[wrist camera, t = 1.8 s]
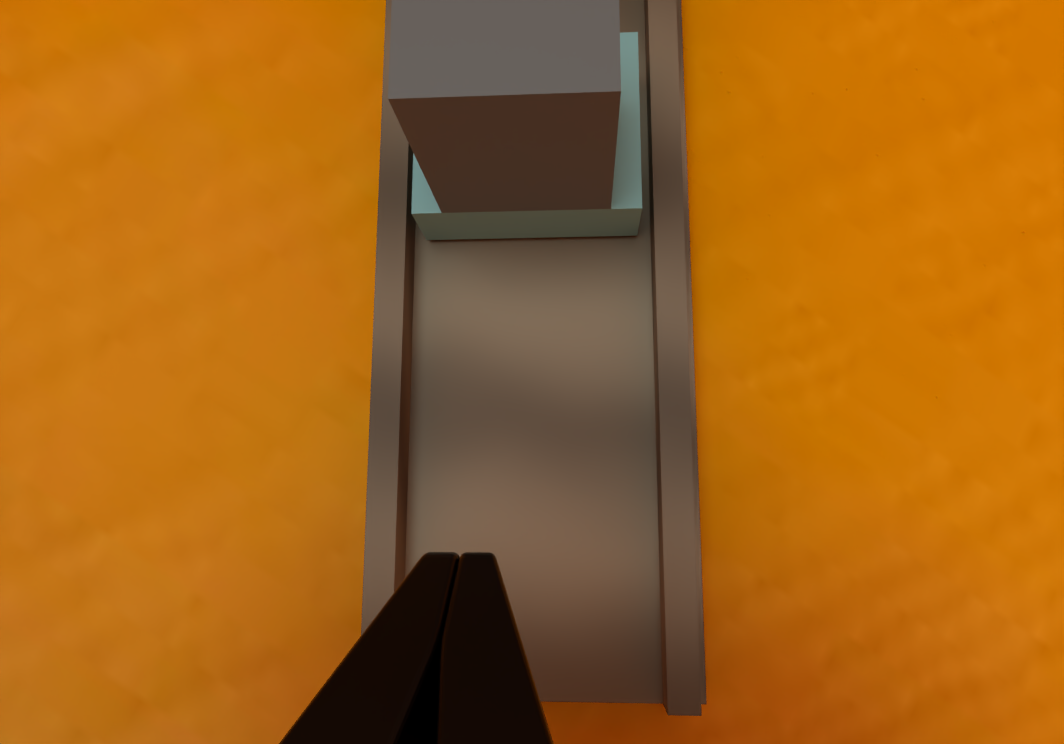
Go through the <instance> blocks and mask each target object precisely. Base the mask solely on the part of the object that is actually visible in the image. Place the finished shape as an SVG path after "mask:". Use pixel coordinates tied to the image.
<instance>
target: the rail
mask: <svg viewBox="0 0 1064 744" xmlns="http://www.w3.org/2000/svg"><path fill="white" fill-rule="evenodd" d="M391 6H392V0H386V19H385V44H384V70H383V95H382V120H381V146H380V171H379V197H378V222H377V247H376V273H375V298H374V323H373V349H372V374H371V400H370V425H369V450H368V476H367V501H366V527H365V552H364V577H363V603H362V628H361V635H362V634H363V633H364V632H365V630H366V629H367V628H368V626H369V625H370V624H371V622H372V621H373V620H374V618H375V617H376V616H377V614H378V613H379V612H380V611H381V609H382V608H383V607H384V605H385V604H386V603H387V601H388V600H389V599H390V597H391V596H392V595H393V593H394V592H395V591H396V589H397V588H398V587H399V586H400V584H401V583H402V582H403V580H404V579H405V578H406V576H407V575H408V574H409V572H410V571H411V570H412V568H413V567H414V566H415V564H416V563H417V562H418V561H419V559H420V558H421V557H422V556H423V555H424V554H426V553H428V552H455V553H457V554H459V556H461V554H463V553H465V552H491V553H493V554H494V555H495V557H496V559H497V562H498V565H499V569H500V572H501V575H502V578H503V582H504V585H505V588H506V591H507V595H508V598H509V601H510V604H511V608H512V611H513V614H514V617H515V621H516V624H517V627H518V630H519V634H520V637H521V640H522V643H523V647H524V650H525V653H526V656H527V660H528V663H529V666H530V669H531V673H532V676H533V679H534V682H535V685H536V689H537V692H538V695H539V698H540V701H547V702H605V703H663V705H664V707H665V709H666V712H667V714H668V715H688V716H701V704H706V677H705V650H704V622H703V595H702V567H701V540H700V512H699V485H698V457H697V430H696V402H695V375H694V347H693V319H692V292H691V264H690V237H689V209H688V182H687V154H686V127H685V99H684V72H683V44H682V17H681V0H619V16H620V33H624V32H638V59H639V98H640V138H641V178H642V212H641V218H640V223H639V228H638V234H637V236H594V237H548V238H501V239H454V240H426V238H425V237H424V235H423V233H422V231H421V230H420V228H419V226H418V224H417V223H416V221H415V219H414V217H413V216H412V214H411V212H412V180H413V151H412V149H411V147H410V145H409V142H408V140H407V138H406V136H405V134H404V132H403V130H402V128H401V126H400V123H399V121H398V119H397V117H396V115H395V113H394V111H393V109H392V106H391V104H390V102H389V100H388V85H389V59H390V33H391Z"/></svg>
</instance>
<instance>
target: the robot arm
mask: <svg viewBox="0 0 1064 744" xmlns="http://www.w3.org/2000/svg"><path fill="white" fill-rule="evenodd" d="M279 744H553V741H552V737H551V734H550V731H549V728H548V724H547V721H546V718H545V715H544V711H543V708H542V705H541V702H540V698H539V695H538V692H537V689H536V685H535V682H534V679H533V676H532V673H531V669H530V666H529V663H528V660H527V656H526V653H525V650H524V647H523V643H522V640H521V637H520V634H519V630H518V627H517V624H516V621H515V617H514V614H513V611H512V608H511V604H510V601H509V598H508V595H507V591H506V588H505V585H504V582H503V578H502V575H501V572H500V569H499V565H498V562H497V559H496V557H495V555H494V554H493V553H491V552H465V553H463V554H461V556H459V554H457V553H455V552H428V553H426V554H424V555H423V556H422V557H421V558H420V559H419V561H418V562H417V563H416V564H415V566H414V567H413V568H412V570H411V571H410V572H409V574H408V575H407V576H406V578H405V579H404V580H403V582H402V583H401V584H400V586H399V587H398V588H397V589H396V591H395V592H394V593H393V595H392V596H391V597H390V599H389V600H388V601H387V603H386V604H385V605H384V607H383V608H382V609H381V611H380V612H379V613H378V614H377V616H376V617H375V618H374V620H373V621H372V622H371V624H370V625H369V626H368V628H367V629H366V630H365V632H364V633H363V634H362V635H361V637H360V638H359V639H358V641H357V642H356V643H355V645H354V646H353V647H352V649H351V650H350V651H349V653H348V654H347V655H346V657H345V658H344V659H343V660H342V662H341V663H340V664H339V666H338V667H337V668H336V670H335V671H334V672H333V674H332V675H331V676H330V678H329V679H328V680H327V681H326V683H325V684H324V685H323V687H322V688H321V689H320V691H319V692H318V693H317V695H316V696H315V697H314V699H313V700H312V701H311V703H310V704H309V705H308V706H307V708H306V709H305V710H304V712H303V713H302V714H301V716H300V717H299V718H298V720H297V721H296V722H295V724H294V725H293V726H292V727H291V729H290V730H289V731H288V733H287V734H286V735H285V737H284V738H283V739H282V741H281V742H280V743H279Z"/></svg>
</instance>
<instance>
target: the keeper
mask: <svg viewBox="0 0 1064 744" xmlns="http://www.w3.org/2000/svg"><path fill="white" fill-rule="evenodd" d="M388 100H389V102H390V104H391V106H392V109H393V111H394V113H395V115H396V117H397V119H398V121H399V123H400V126H401V128H402V130H403V132H404V134H405V136H406V138H407V140H408V142H409V145H410V147H411V149H412V151H413V180H412V212H411V214H412V216H413V217H414V219H415V221H416V223H417V224H418V226H419V228H420V230H421V231H422V233H423V235H424V237H425V238H426V240H454V239H501V238H548V237H594V236H637V234H638V228H639V223H640V218H641V212H642V178H641V138H640V98H639V59H638V32H624V33H620V16H619V0H392V6H391V33H390V59H389V85H388Z"/></svg>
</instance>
